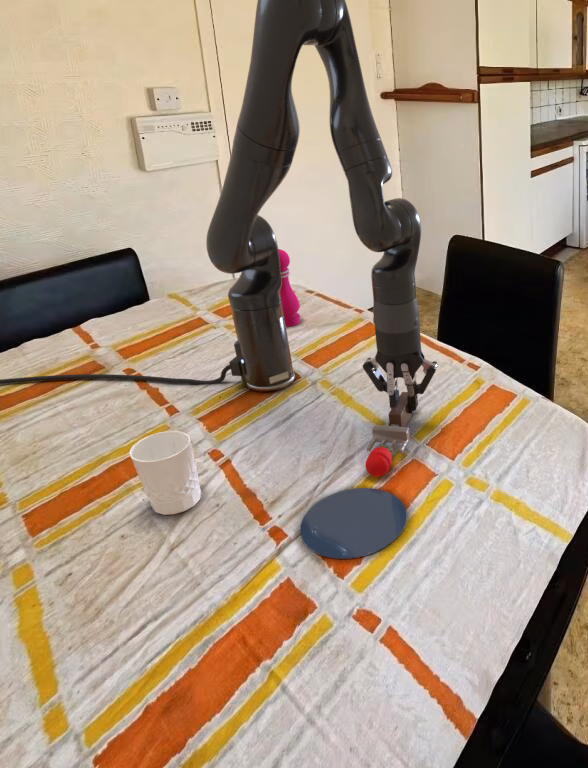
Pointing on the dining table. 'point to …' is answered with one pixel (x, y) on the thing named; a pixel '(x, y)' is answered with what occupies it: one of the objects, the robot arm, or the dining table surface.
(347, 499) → the plate
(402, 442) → the fork
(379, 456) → the strawberry
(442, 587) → the dining table surface
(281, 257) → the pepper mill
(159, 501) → the white cup
